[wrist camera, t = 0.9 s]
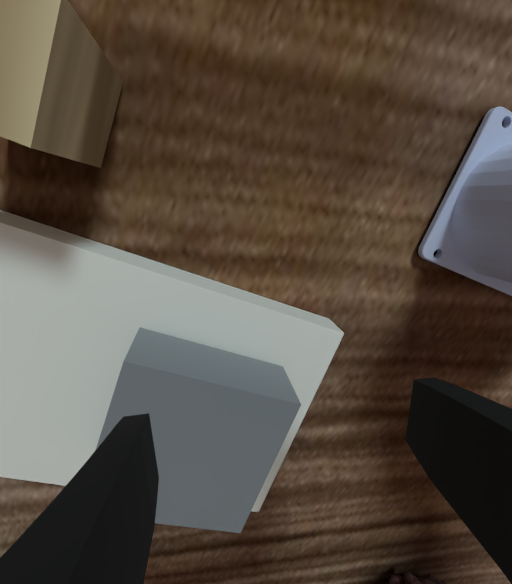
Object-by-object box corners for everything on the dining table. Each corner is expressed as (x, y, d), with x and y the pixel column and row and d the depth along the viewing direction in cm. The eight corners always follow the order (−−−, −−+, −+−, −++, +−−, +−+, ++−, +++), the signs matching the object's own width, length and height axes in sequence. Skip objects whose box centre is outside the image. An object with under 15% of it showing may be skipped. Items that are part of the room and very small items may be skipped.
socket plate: (329, 318, 18) (344, 333, 16) (253, 482, 20) (258, 512, 18) (-39, 197, 13) (-79, 197, 11) (-77, 429, 16) (-115, 461, 14)
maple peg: (123, 82, 13) (62, -8, 7) (101, 168, 14) (30, 147, 8) (27, 37, 12) (-128, -105, 6) (9, 132, 13) (-144, 80, 7)
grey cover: (282, 366, 15) (301, 404, 13) (233, 476, 17) (240, 533, 14) (139, 327, 14) (123, 361, 11) (99, 454, 15) (75, 513, 12)
